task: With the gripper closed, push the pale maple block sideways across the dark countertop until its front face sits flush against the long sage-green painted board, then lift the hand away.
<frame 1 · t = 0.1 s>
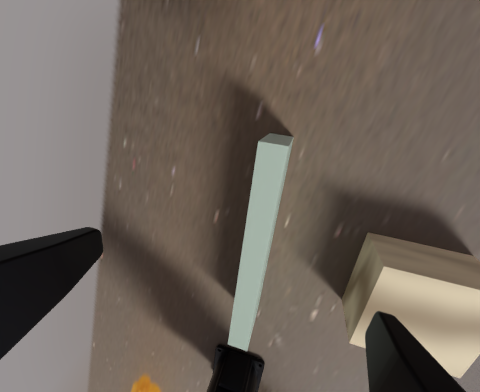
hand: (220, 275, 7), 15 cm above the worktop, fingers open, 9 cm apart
sage board: (262, 235, 23), on the worktop
maple block: (399, 278, 21), on the worktop
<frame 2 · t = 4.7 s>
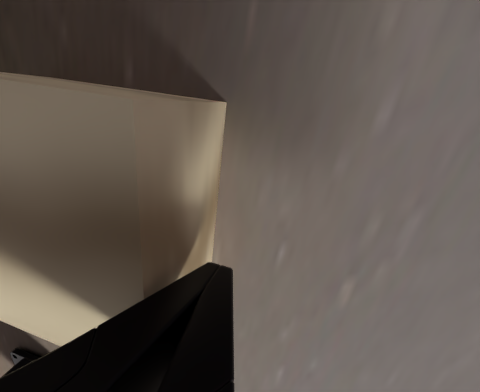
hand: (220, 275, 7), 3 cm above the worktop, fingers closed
maple block: (136, 183, 11), on the worktop, touching gripper
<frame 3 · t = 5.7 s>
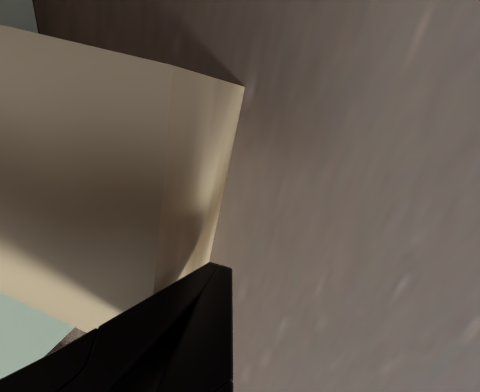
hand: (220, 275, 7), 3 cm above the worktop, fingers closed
sage board: (47, 164, 12), on the worktop
maple block: (143, 162, 11), on the worktop, touching gripper, sage board
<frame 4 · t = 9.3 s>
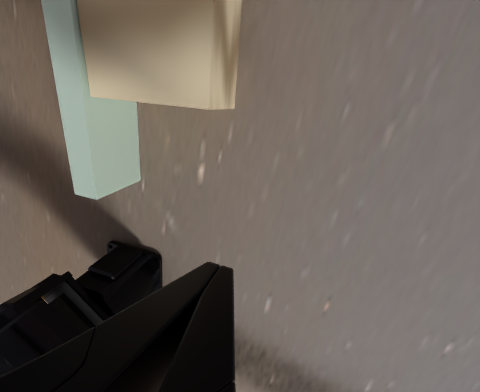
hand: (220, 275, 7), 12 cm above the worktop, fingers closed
sage board: (123, 56, 18), on the worktop
maple block: (186, 43, 17), on the worktop
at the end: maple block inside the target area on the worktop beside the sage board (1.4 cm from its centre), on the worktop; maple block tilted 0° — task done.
